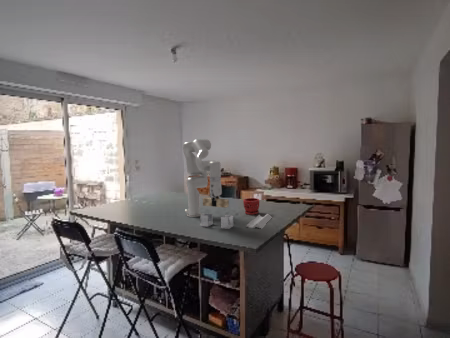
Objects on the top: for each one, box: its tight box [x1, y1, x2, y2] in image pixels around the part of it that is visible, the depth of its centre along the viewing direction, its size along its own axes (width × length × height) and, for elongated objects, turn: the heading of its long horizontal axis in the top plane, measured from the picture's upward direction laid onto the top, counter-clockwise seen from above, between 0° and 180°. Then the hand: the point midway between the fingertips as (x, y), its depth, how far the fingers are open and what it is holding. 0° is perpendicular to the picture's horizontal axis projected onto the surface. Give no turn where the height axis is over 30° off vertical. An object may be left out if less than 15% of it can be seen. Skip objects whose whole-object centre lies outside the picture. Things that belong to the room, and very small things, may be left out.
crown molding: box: [245, 213, 273, 229], centre depth 203 cm, size 31×12×4 cm, turn 157°
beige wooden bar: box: [202, 197, 230, 209], centre depth 193 cm, size 18×4×5 cm, turn 65°
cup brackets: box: [199, 212, 234, 230], centre depth 195 cm, size 22×8×8 cm, turn 66°
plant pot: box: [242, 197, 260, 216], centre depth 230 cm, size 13×13×12 cm
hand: (215, 205), depth 193 cm, fingers closed on beige wooden bar, 4 cm apart
